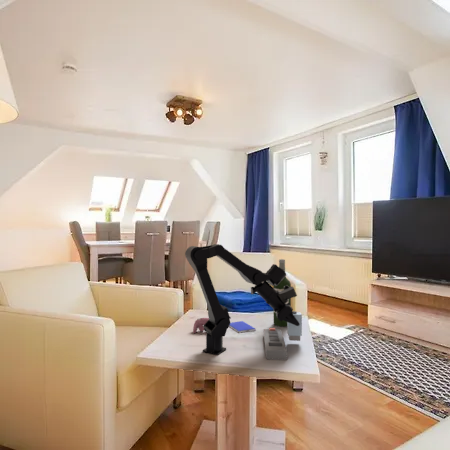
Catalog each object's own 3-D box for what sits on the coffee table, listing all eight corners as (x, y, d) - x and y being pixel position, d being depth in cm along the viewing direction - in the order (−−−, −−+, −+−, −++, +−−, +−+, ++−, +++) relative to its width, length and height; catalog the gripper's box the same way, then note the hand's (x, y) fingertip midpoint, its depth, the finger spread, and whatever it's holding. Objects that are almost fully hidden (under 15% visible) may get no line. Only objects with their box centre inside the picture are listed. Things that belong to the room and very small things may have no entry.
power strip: (287, 359, 113) (287, 349, 113) (266, 359, 114) (266, 348, 114) (279, 331, 144) (279, 323, 144) (263, 331, 145) (263, 322, 145)
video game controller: (216, 335, 144) (217, 318, 147) (215, 333, 140) (216, 316, 143) (193, 334, 145) (195, 318, 148) (192, 332, 141) (193, 316, 144)
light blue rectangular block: (301, 341, 127) (301, 313, 127) (288, 340, 127) (288, 312, 127) (300, 337, 131) (300, 310, 131) (287, 337, 131) (287, 310, 131)
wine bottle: (273, 326, 152) (273, 260, 152) (273, 321, 160) (273, 258, 160) (291, 327, 151) (291, 260, 151) (290, 322, 158) (290, 258, 159)
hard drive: (227, 322, 154) (238, 330, 143) (243, 320, 157) (255, 328, 146) (227, 326, 154) (238, 334, 143) (243, 324, 157) (255, 331, 146)
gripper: (286, 283, 120) (318, 315, 119) (281, 276, 139) (308, 303, 138) (264, 305, 121) (295, 337, 120) (262, 295, 139) (289, 322, 138)
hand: (298, 323), depth 129 cm, fingers closed on light blue rectangular block, 4 cm apart
